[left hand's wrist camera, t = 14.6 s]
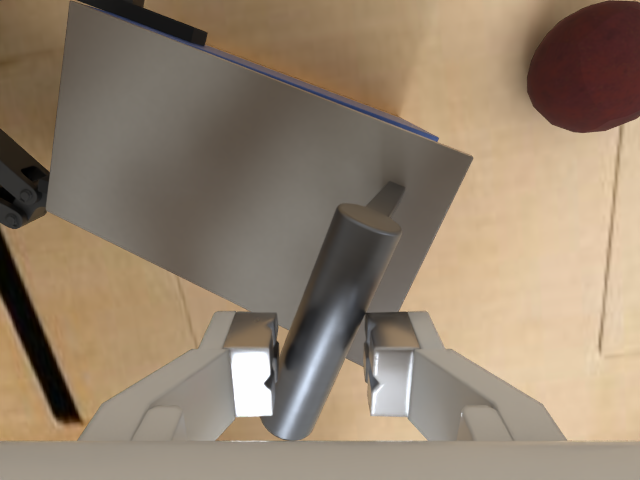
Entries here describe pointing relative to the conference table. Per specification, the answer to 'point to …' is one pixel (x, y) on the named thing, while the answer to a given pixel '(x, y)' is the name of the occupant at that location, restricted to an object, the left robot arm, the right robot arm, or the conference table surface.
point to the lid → (247, 192)
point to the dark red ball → (589, 69)
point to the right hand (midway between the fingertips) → (178, 132)
